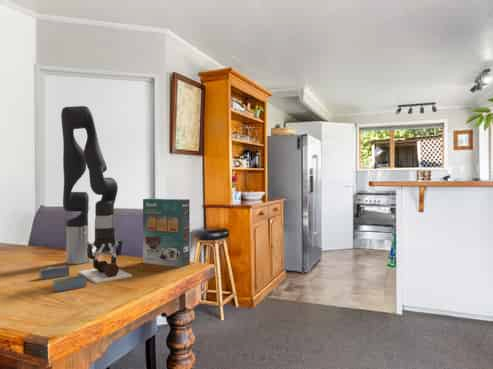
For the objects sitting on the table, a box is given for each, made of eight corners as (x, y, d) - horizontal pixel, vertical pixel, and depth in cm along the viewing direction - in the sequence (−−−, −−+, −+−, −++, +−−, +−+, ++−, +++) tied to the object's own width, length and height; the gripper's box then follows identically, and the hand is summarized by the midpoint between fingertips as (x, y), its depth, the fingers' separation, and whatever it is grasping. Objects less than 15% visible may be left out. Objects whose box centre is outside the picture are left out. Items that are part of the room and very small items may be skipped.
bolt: (100, 273, 151) (114, 279, 140) (89, 269, 148) (103, 275, 137) (107, 260, 153) (121, 265, 142) (96, 256, 150) (110, 260, 139)
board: (112, 267, 157) (112, 266, 157) (131, 276, 142) (131, 274, 142) (78, 273, 148) (78, 271, 148) (95, 283, 133) (95, 281, 133)
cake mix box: (189, 264, 164) (189, 199, 164) (182, 267, 159) (181, 199, 159) (151, 260, 173) (151, 198, 173) (143, 262, 168) (143, 199, 168)
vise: (62, 271, 151) (62, 263, 151) (86, 286, 129) (86, 276, 129) (36, 275, 145) (36, 266, 145) (55, 292, 122) (55, 282, 122)
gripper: (118, 224, 153) (118, 263, 153) (83, 227, 143) (83, 268, 143) (125, 225, 147) (125, 266, 147) (89, 228, 138) (89, 272, 138)
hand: (104, 267), depth 145 cm, fingers open, 6 cm apart
